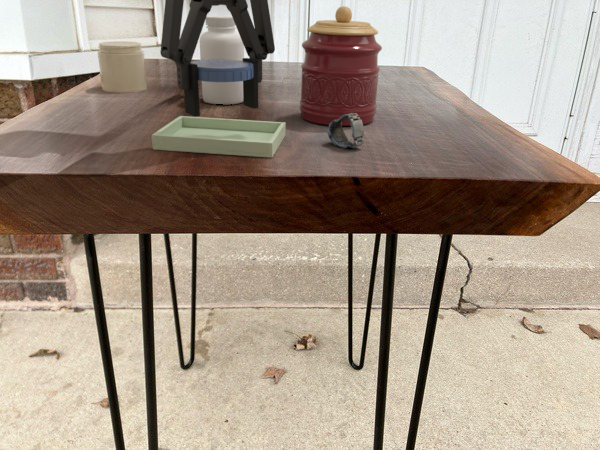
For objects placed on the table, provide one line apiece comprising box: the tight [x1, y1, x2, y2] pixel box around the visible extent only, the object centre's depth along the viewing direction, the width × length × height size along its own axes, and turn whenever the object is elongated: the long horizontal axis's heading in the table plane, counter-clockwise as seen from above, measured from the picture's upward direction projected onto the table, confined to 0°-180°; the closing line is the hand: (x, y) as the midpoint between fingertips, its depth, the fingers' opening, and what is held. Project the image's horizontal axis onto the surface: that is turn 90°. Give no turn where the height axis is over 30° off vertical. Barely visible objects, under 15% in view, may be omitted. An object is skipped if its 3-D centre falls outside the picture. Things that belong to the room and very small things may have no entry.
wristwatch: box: [326, 113, 365, 149], centre depth 73 cm, size 3×5×5 cm
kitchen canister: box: [299, 5, 383, 127], centre depth 86 cm, size 13×13×18 cm
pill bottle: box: [199, 14, 245, 106], centre depth 96 cm, size 8×8×15 cm
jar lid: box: [190, 59, 254, 82], centre depth 70 cm, size 9×9×2 cm
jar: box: [97, 40, 148, 94], centre depth 97 cm, size 8×8×10 cm
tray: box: [151, 115, 287, 159], centre depth 74 cm, size 16×11×2 cm
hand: (222, 110), depth 73 cm, fingers closed on jar lid, 8 cm apart
